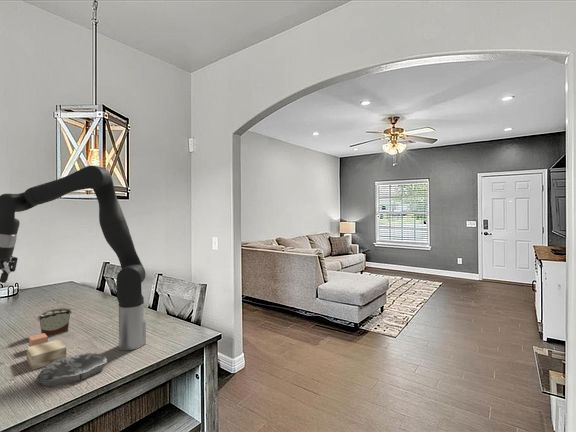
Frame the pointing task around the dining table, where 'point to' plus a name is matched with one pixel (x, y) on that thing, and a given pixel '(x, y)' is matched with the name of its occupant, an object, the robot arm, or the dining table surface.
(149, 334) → the dining table surface
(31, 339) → the terracotta cube
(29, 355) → the birch block
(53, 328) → the food container
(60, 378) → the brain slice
